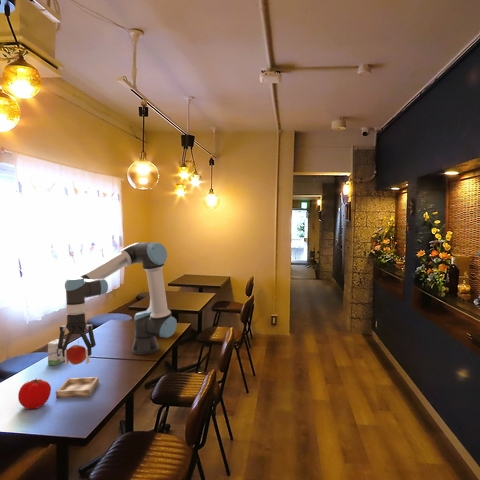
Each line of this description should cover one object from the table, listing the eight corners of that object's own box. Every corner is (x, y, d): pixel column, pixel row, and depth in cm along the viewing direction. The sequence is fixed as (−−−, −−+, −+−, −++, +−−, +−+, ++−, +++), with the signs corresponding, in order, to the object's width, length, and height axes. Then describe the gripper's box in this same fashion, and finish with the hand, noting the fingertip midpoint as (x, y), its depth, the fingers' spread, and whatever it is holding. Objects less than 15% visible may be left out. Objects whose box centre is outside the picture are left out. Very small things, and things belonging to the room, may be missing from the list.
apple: (64, 364, 170) (63, 342, 170) (81, 359, 176) (81, 338, 176) (71, 368, 165) (71, 345, 164) (90, 363, 171) (89, 341, 170)
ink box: (58, 359, 211) (57, 338, 211) (66, 359, 210) (65, 338, 210) (47, 365, 203) (46, 343, 202) (56, 365, 202) (55, 343, 201)
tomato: (16, 415, 149) (15, 387, 149) (20, 402, 160) (19, 376, 159) (50, 409, 154) (49, 382, 153) (52, 397, 164) (51, 372, 164)
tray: (98, 383, 179) (98, 376, 178) (89, 396, 165) (89, 389, 165) (67, 384, 177) (67, 378, 177) (56, 398, 163) (55, 391, 163)
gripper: (102, 310, 174) (103, 359, 175) (54, 311, 172) (56, 361, 173) (98, 314, 167) (99, 365, 168) (47, 315, 165) (49, 367, 166)
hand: (77, 363), depth 170 cm, fingers closed on apple, 8 cm apart
